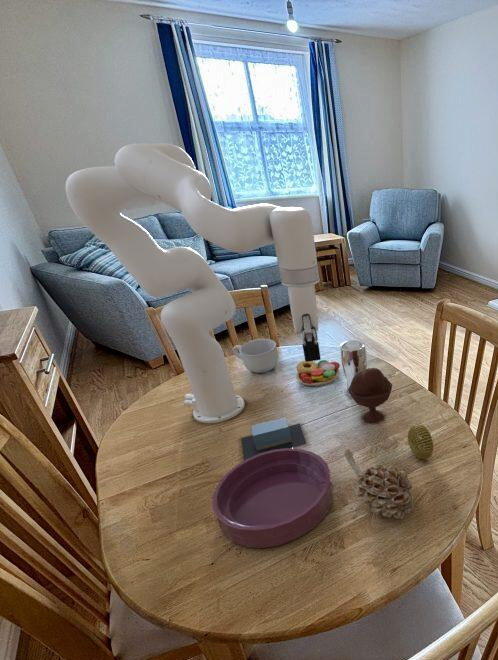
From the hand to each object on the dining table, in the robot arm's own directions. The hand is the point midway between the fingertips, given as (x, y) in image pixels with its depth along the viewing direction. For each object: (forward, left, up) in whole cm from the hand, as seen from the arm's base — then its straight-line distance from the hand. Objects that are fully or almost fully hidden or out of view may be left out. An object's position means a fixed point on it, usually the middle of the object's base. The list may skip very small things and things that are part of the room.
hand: (311, 350), depth 92 cm
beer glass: (+4, +19, -23) cm, 30 cm away
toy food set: (-10, +27, -23) cm, 36 cm away
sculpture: (+25, -7, -23) cm, 34 cm away
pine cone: (+17, -21, -23) cm, 35 cm away
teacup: (-31, +31, -23) cm, 49 cm away
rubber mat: (-11, -5, -23) cm, 26 cm away
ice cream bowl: (+11, +7, -23) cm, 26 cm away
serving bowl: (-2, -24, -23) cm, 33 cm away
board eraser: (-11, -5, -22) cm, 25 cm away
